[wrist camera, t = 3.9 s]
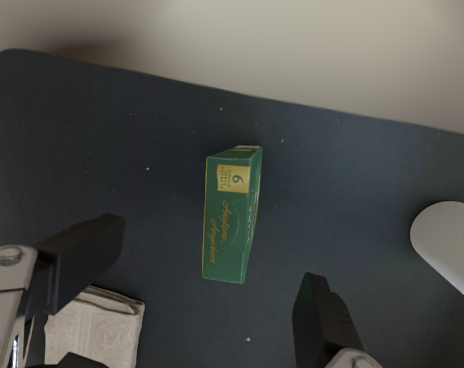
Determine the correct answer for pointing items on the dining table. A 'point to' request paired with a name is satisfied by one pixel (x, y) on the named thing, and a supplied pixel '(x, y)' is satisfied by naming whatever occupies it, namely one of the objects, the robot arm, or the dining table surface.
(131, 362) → the washcloth
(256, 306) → the dining table surface
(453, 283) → the can
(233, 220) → the coffee box
